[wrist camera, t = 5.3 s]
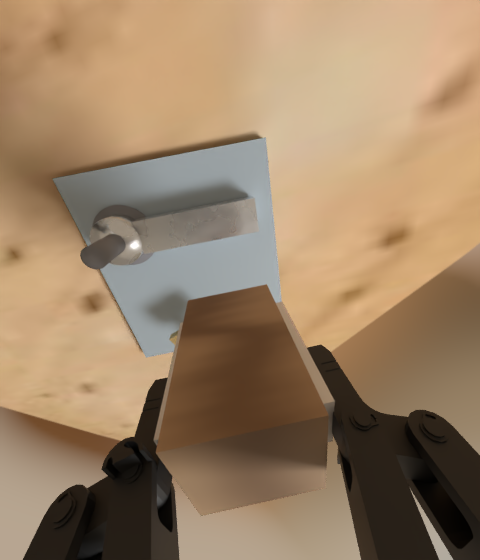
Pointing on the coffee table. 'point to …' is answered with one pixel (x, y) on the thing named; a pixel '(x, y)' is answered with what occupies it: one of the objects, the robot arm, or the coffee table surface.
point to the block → (241, 407)
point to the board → (183, 260)
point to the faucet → (178, 227)
